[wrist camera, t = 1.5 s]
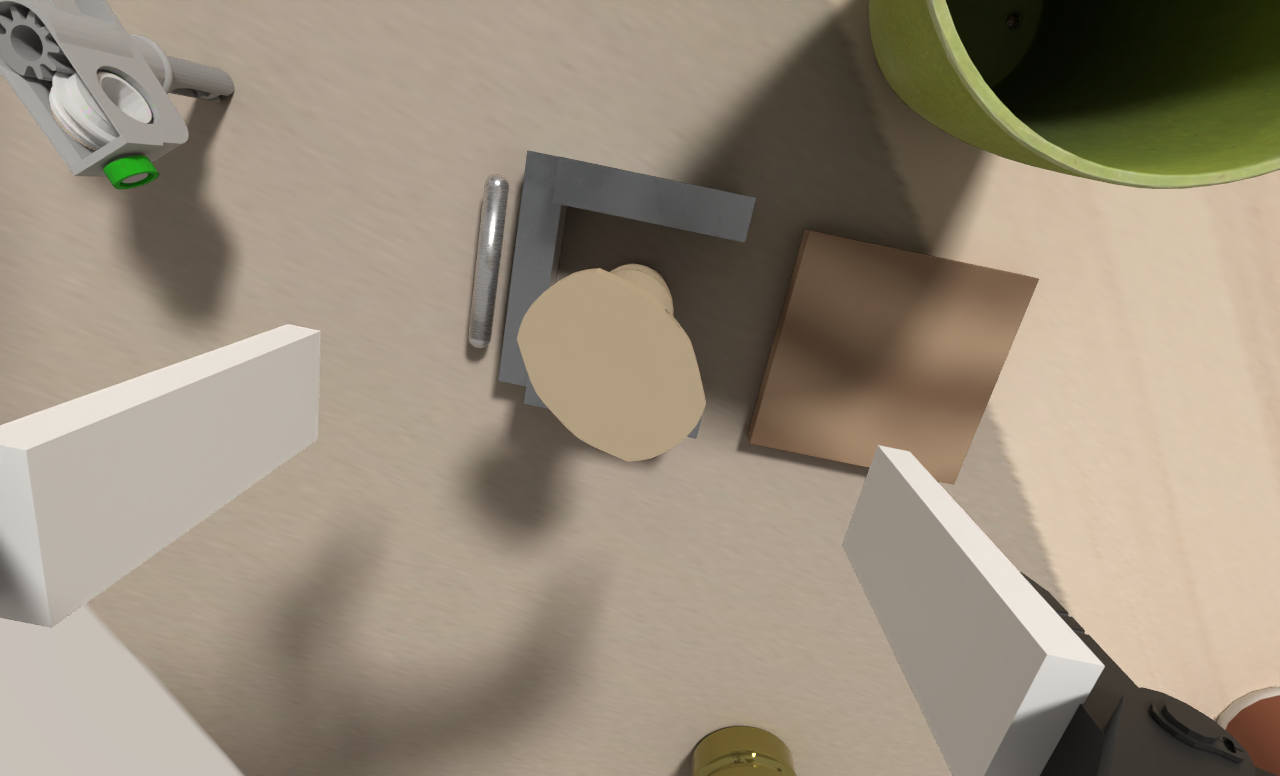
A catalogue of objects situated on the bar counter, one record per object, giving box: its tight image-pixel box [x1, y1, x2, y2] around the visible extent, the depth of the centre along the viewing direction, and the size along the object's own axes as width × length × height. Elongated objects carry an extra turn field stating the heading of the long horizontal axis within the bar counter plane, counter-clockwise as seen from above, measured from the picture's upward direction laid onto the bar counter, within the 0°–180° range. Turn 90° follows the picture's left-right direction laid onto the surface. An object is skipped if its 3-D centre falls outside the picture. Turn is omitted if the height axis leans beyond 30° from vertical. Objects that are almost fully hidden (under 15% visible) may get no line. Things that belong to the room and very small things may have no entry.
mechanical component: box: [0, 0, 234, 189], centre depth 26 cm, size 3×10×10 cm, turn 26°
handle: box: [517, 263, 706, 462], centre depth 26 cm, size 5×6×15 cm
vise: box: [468, 151, 756, 439], centre depth 31 cm, size 12×13×4 cm
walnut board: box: [747, 230, 1039, 485], centre depth 33 cm, size 12×12×1 cm
